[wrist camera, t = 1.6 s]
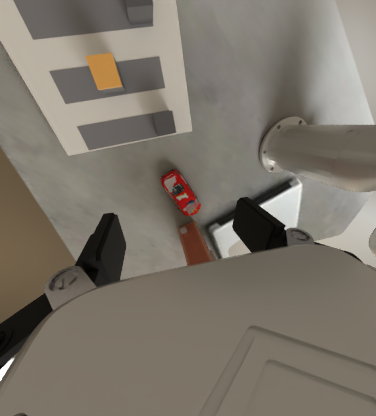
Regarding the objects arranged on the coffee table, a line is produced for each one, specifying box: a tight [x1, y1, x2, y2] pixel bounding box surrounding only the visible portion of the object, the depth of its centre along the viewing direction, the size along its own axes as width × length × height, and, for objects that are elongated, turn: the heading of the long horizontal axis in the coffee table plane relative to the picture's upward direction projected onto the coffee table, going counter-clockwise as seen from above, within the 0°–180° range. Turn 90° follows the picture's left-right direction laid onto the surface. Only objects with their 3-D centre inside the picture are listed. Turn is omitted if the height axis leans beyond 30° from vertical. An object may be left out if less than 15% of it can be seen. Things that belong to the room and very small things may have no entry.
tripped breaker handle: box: [85, 53, 126, 94], centre depth 19 cm, size 3×3×4 cm
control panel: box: [178, 221, 216, 266], centre depth 36 cm, size 21×7×15 cm
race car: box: [161, 170, 201, 216], centre depth 35 cm, size 13×5×4 cm, turn 28°
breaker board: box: [0, 0, 192, 156], centre depth 21 cm, size 22×17×6 cm
